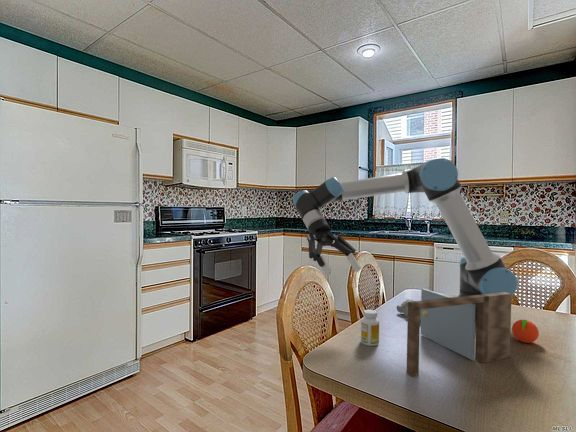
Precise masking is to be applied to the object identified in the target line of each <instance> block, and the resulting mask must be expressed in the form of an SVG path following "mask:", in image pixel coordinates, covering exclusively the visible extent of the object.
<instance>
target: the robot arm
mask: <svg viewBox="0 0 576 432" xmlns="http://www.w3.org/2000/svg"><path fill="white" fill-rule="evenodd" d="M458 177H459V172H458V168H457V166H456V164H454V162H453V161H451V160H450V159H448V158H444V157H435V158H434V157H433V158H430V159H428V160H426V161H425V162H423V163H422V164H421V165H418V166H416V167H413V168H408V169H404V170H403V171H401V172H400V173H393V174H389V175H388V174H387V175H382V176H374V177H368V178H362V179H356V180H349V181H343V182H340V181H339V180H338V179H337V177H336V176H332V177H330V178H327V179H326V180H325V181H323V182H322V183H320V185H318V186H317V187H315V188H314V189H312V190H311V191H308V190H305V189H302V190H300V191H297V192H296V193H295V194H294V195H293V197H292V203H293V205H294V208H295V210H296V212H297V213H298V214H299V217H300V218H301V220H302V221H303V223H304V225H305V227H306V228H307V230H308V233H309V234H308V235H307V237H306V240H307V242H308V257H309V259H312V260H313V261H314V262H316V263H317V264H318V266H319V268H320V267H321V270H322V271H323V273H324V275H325V277H329V276H330V274H331V273H333V270H332V269H331V267H330V265H329V263H328V260H326V257H325V256H324V254H322V251H323V247H331V248H335V249H336V250H338V251H339V252H340V253H341V254H343V255H345V256H346V260H347V261H348V262H349V265H350V266H351V267H352V269H353V271H354V272H355V273H358V272H359V271H360V270H361V269H362V267H361V265H360V263H359V262H358V259H357V257H356V256H355V255H354V254H355V252H356V251H357V249H356V248H354V247H353V246H352V245H351V244H350V243H349V242H347V240H345V239H344V238H343V237H342V236H341V235H340V233H339V232H338V231H336V232H335V233H334V234H333V233H332V232H331V226H330V224H329V223H328V221H327V220H326V218H325V217H324V215H323V213H322V211H321V210H320V209H321V208H323V207H324V206H326V205H328V204H329V203H330V204H331V203H335V202H341V201H347V200H355V199H361V198H367V197H368V198H369V197H374V196H383V195H387V194H388V195H390V194H395V193H402V192H405V194H413V193H425V195H426V198H427V200H428V202H431V203H433V204H436V207H437V208H438V210H439V212H440V214H441V216H442V218H443V220H444V222H445V223H446V225H447V227H448V229H449V231H450V232H451V234H452V236H453V239H454V240H455V242H456V244H457V245H458V247H459V249H460V251H461V254H462V255H463V257H461V258H460V260H459V261H460V263H459V294H458V296H457V297H462V296H471V295H481V294H491V293H501V292H506V293H510V294H512V295H511V297H513V296H514V295H515V293H516V291H517V289H518V286H519V281H518V278H517V276H516V274H515V273H514V272H513V271H512V270H511V269H509V268H506V267H507V266H505V263H504V262H503V259H502V258H501V256H500V255H499V254H496V253H493V252H492V250H491V248H490V245H488V244H489V243H488V242H487V240H486V238H485V237H484V235H483V233H482V231H481V230H480V228H479V225H478V224H477V222H476V221H475V219H474V217H473V214H472V213H471V211H470V210H469V208H468V206H467V203H466V202H465V200H464V198H463V195H462V194H461V189H462V187H463V186H462V184H461V182H460V180H459V179H458ZM316 242H317V244H316ZM473 304H475V305H476V307H475V321H476V316H477V303H473Z"/></svg>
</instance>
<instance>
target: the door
mask: <svg viewBox="0 0 576 432" xmlns="http://www.w3.org/2000/svg"><path fill="white" fill-rule="evenodd" d="M452 297H453V296H451V295H450V296H449V295H447V294H442V293H440V292H437V291H433V290H431V289H427V288H421V297H420V301H422V300H432V299H442V298H452ZM475 307H476V305H475V304H464V305H455V306H447V307H438V308H429V309H421V322H420V335H421V336H424V337H425V338H427V339H430V340H431V341H433V342H435V343H437V344H439V345H441V346H443V347H445V348H446V349H449V350H451V351H453V352H455V353H457V354H459V355H461V356H463V357H465V358H467V359H469V360H475V346H476V320H475Z"/></svg>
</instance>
